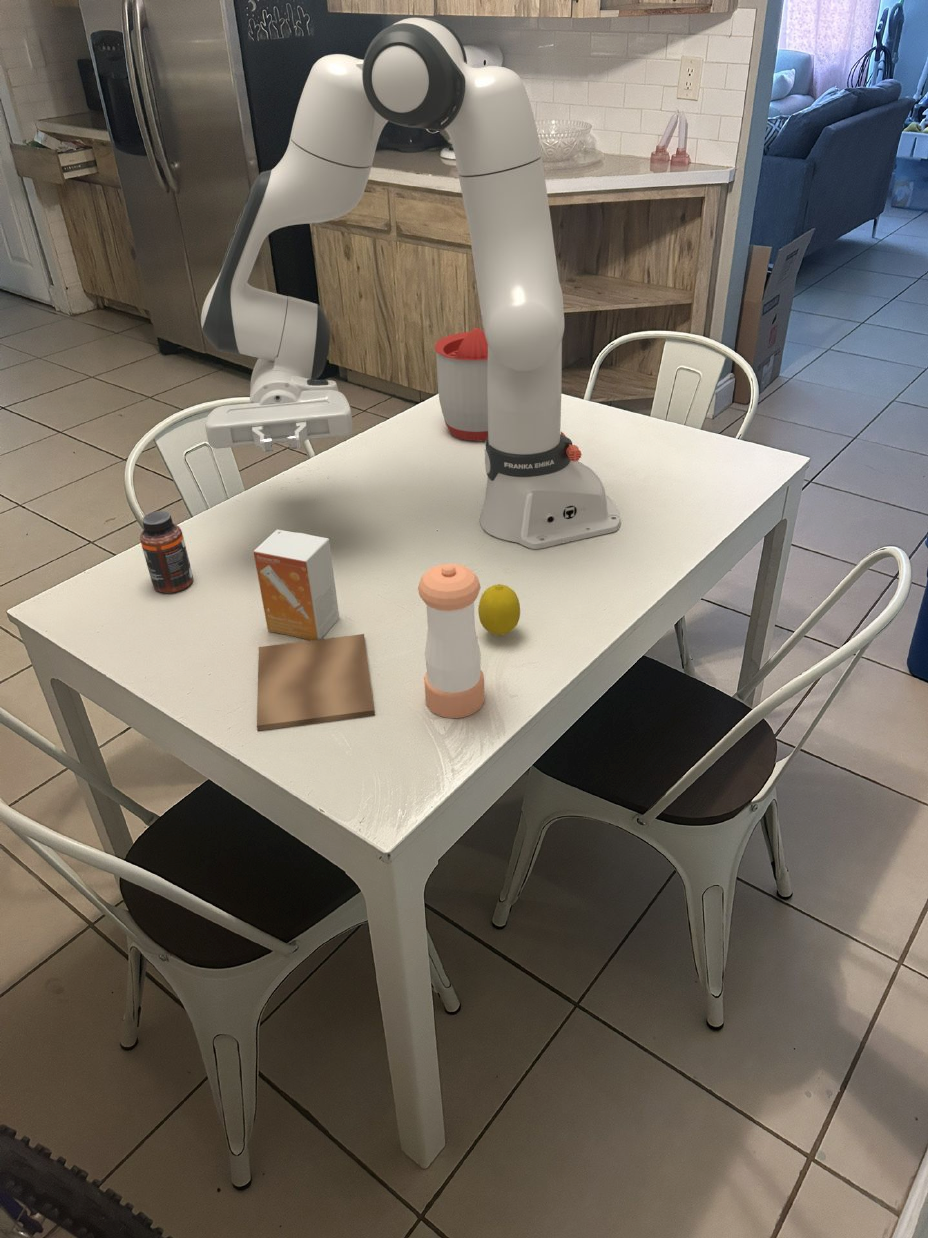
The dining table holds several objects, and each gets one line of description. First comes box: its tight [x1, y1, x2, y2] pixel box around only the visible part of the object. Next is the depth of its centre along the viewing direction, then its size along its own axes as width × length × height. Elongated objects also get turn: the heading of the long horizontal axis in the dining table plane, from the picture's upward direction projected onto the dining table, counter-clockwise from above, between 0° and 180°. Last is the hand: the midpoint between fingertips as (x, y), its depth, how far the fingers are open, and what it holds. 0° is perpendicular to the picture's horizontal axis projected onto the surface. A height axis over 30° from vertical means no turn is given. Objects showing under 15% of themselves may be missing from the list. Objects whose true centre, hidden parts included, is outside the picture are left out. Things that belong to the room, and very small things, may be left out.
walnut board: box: [256, 633, 376, 732], centre depth 117 cm, size 14×16×1 cm
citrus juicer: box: [433, 327, 488, 442], centre depth 174 cm, size 16×17×20 cm
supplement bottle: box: [139, 510, 194, 594], centre depth 134 cm, size 6×6×11 cm
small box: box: [253, 529, 340, 641], centre depth 124 cm, size 8×6×13 cm
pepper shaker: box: [417, 563, 486, 719], centre depth 108 cm, size 7×7×19 cm
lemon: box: [477, 584, 521, 637], centre depth 122 cm, size 6×6×8 cm
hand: (280, 445), depth 124 cm, fingers open, 2 cm apart
